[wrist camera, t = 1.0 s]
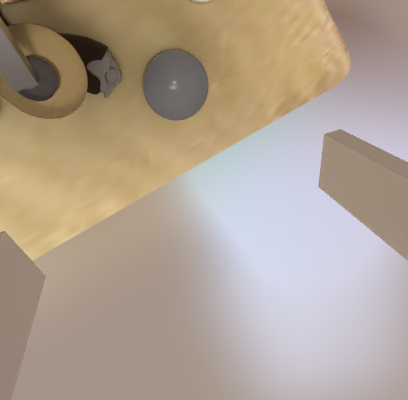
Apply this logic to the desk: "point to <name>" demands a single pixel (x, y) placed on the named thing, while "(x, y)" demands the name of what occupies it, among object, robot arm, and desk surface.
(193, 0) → the chess pawn
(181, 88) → the dish slate
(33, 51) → the balance
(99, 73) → the handgun
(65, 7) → the desk surface
